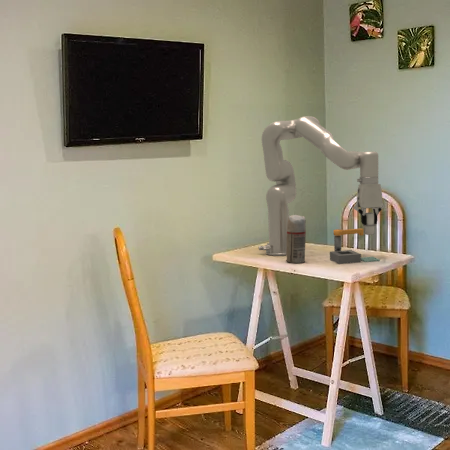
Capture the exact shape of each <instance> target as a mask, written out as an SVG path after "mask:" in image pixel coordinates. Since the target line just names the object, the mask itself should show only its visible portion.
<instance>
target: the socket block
mask: <svg viewBox="0 0 450 450" xmlns="http://www.w3.org/2000/svg"><path fill="white" fill-rule="evenodd" d="M361 257H362V254H361V253H359V252H357V251H354V250H352V249H347V250H341V251H334V250H332V251H329V260H330V261H332V262H334V263H336V264H338V265H344V264H353V263H354V264H355V263H362V261H361Z"/></svg>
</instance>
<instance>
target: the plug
mask: <svg viewBox="0 0 450 450" xmlns="http://www.w3.org/2000/svg"><path fill="white" fill-rule="evenodd" d="M365 215H366V216H367V224H366V225H364V224H362V226H363V227H364V235H367V236H373V235H375V227H376V225H377V224H374V213H373V212H366V213H365Z"/></svg>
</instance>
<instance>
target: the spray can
mask: <svg viewBox="0 0 450 450" xmlns="http://www.w3.org/2000/svg"><path fill="white" fill-rule="evenodd" d="M306 227H307V226H306V217H305V216H304V215H299V214H292V215H289V217H288V223H287V243H286V244H287V245H286V246H287V248H286V255H285V256H286V260H285V261H286V262H287V263H289V264H290V263H294V264H300V263H301V264H302V263H305V262H306V261H305V259H306V241H307V239H306V234H307V231H306Z"/></svg>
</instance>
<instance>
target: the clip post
mask: <svg viewBox="0 0 450 450" xmlns="http://www.w3.org/2000/svg"><path fill="white" fill-rule="evenodd" d="M333 237H334V239H333V241H334V242H333V243H334V244H333V247H334V248H333V251H342V235H340V236H335V235H333Z"/></svg>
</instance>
